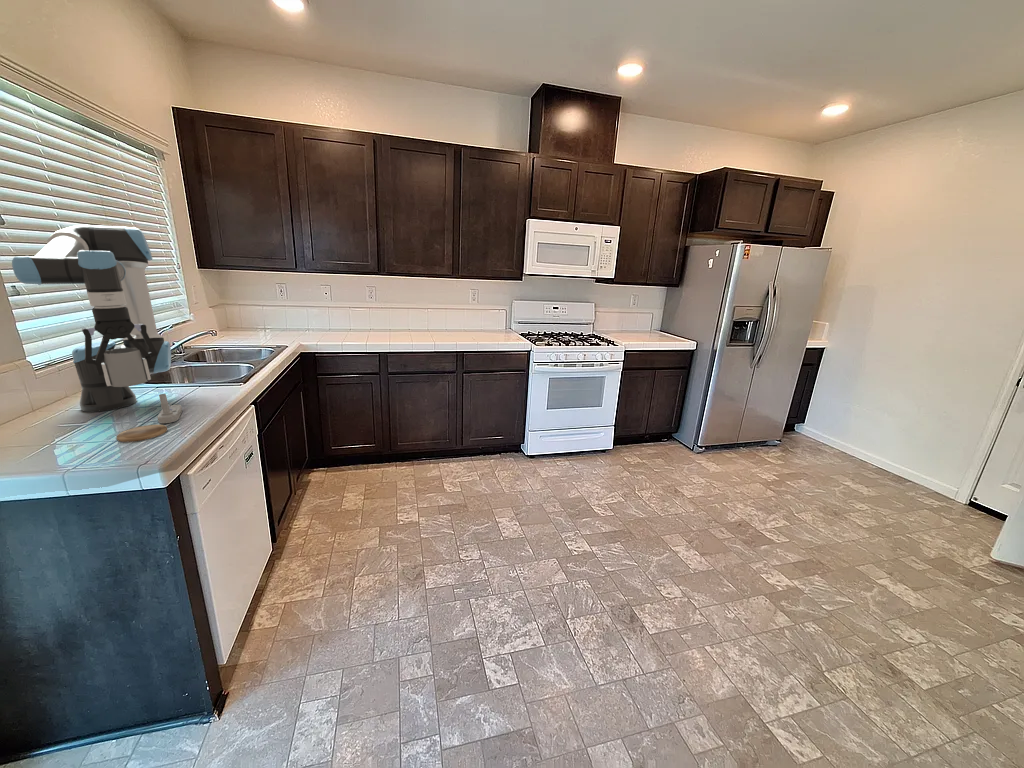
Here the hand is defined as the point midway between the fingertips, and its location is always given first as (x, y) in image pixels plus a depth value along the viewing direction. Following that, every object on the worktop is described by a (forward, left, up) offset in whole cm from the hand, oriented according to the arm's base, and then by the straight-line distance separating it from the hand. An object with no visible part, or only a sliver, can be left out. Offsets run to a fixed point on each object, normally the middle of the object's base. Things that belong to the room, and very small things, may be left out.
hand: (129, 381), depth 124 cm
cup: (0, 0, -1) cm, 1 cm away
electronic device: (-12, +9, -18) cm, 23 cm away
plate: (0, 0, -17) cm, 17 cm away
